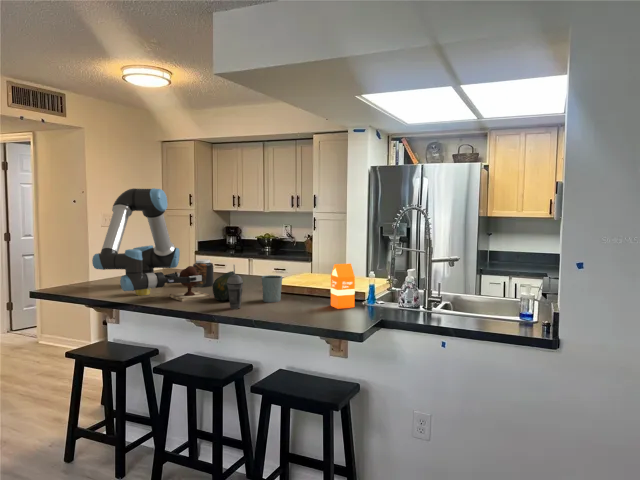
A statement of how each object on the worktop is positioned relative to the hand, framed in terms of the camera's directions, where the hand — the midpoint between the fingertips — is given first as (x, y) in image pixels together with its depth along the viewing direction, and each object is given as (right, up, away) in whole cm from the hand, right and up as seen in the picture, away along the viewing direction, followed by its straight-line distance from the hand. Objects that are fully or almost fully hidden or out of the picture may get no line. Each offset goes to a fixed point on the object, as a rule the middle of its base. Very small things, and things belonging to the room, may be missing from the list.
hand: (195, 276), depth 249 cm
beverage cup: (+25, -13, -27) cm, 39 cm away
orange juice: (+75, -13, -22) cm, 79 cm away
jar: (-4, -8, +35) cm, 37 cm away
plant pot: (-29, -10, +6) cm, 32 cm away
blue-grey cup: (+40, -12, -9) cm, 43 cm away
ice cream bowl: (-3, -10, -1) cm, 10 cm away
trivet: (-3, -11, -1) cm, 11 cm away
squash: (+18, -11, -7) cm, 22 cm away
